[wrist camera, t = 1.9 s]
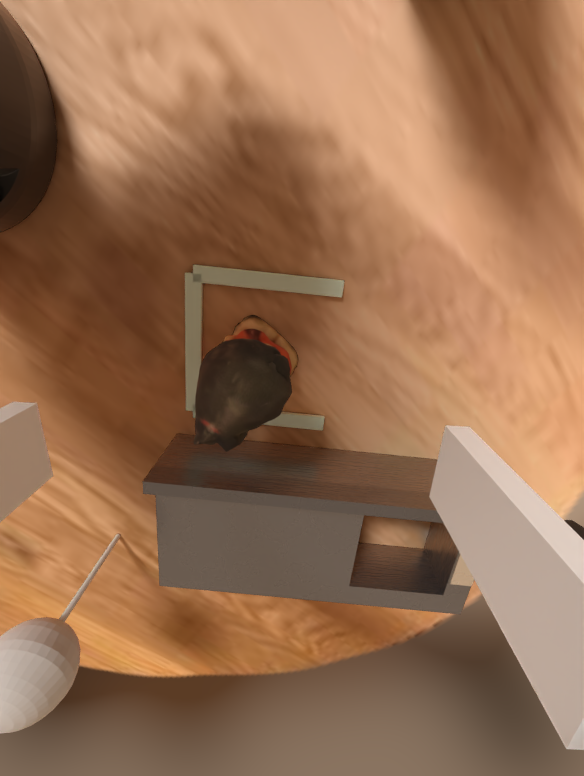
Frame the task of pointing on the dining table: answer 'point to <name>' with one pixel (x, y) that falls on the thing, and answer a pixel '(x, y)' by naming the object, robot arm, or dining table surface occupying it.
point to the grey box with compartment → (301, 525)
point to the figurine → (242, 383)
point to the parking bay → (249, 281)
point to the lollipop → (39, 664)
